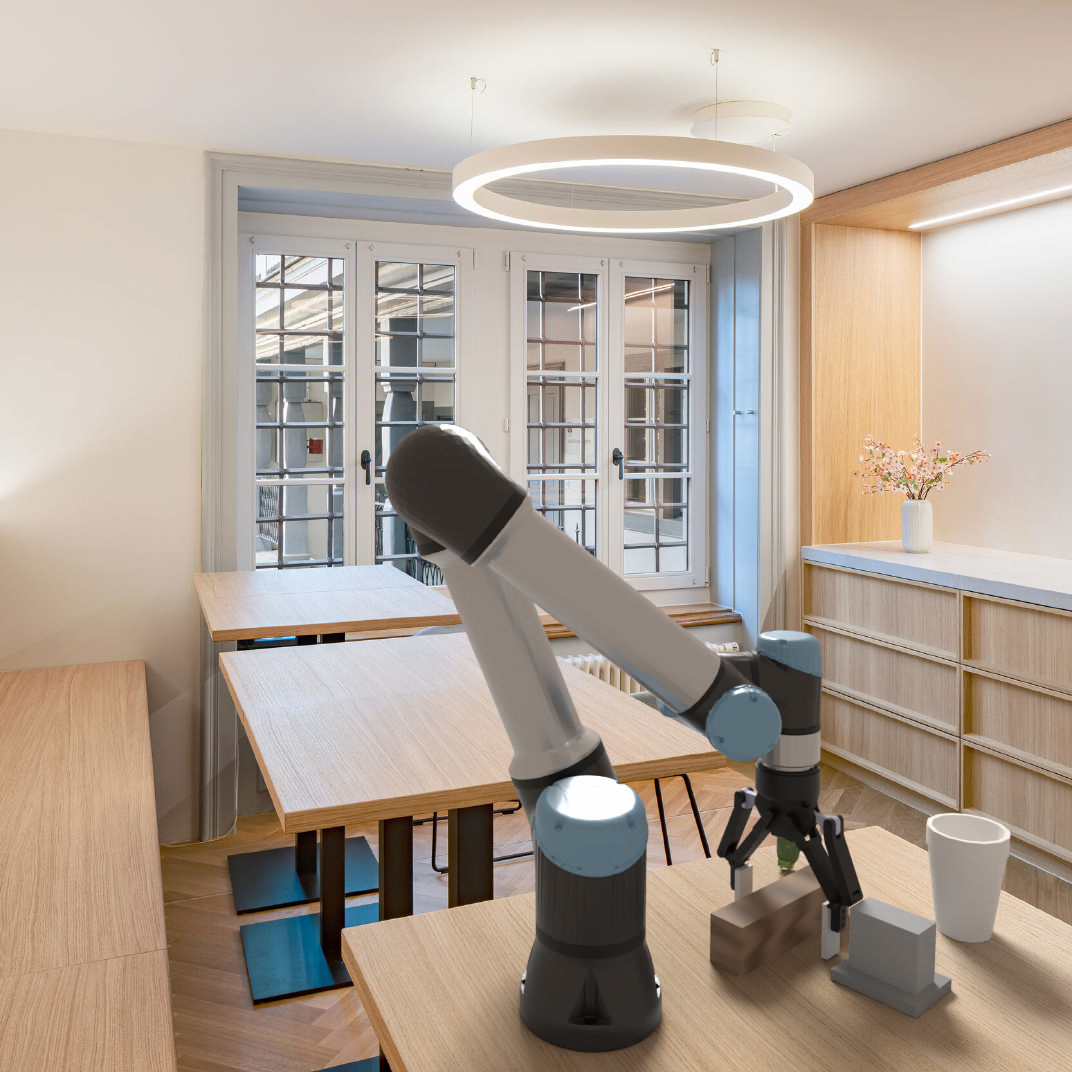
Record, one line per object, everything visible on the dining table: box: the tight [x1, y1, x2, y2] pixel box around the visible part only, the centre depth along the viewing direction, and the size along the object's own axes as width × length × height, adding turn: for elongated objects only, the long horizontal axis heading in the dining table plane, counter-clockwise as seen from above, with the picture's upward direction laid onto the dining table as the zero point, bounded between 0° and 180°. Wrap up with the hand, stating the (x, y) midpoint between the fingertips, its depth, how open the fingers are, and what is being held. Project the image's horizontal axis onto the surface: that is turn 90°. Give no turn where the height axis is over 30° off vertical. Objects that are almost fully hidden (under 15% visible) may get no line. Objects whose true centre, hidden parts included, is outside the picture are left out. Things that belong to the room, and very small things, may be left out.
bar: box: [709, 864, 850, 978], centre depth 117 cm, size 22×4×6 cm, turn 131°
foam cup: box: [925, 812, 1011, 944], centre depth 119 cm, size 10×9×13 cm
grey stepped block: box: [830, 896, 953, 1019], centre depth 107 cm, size 8×10×8 cm
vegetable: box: [776, 837, 801, 870], centre depth 135 cm, size 4×4×20 cm
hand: (785, 935), depth 118 cm, fingers open, 12 cm apart
